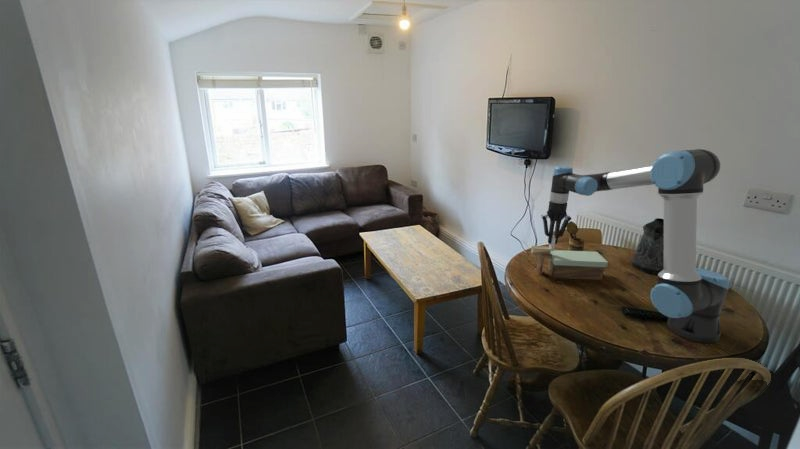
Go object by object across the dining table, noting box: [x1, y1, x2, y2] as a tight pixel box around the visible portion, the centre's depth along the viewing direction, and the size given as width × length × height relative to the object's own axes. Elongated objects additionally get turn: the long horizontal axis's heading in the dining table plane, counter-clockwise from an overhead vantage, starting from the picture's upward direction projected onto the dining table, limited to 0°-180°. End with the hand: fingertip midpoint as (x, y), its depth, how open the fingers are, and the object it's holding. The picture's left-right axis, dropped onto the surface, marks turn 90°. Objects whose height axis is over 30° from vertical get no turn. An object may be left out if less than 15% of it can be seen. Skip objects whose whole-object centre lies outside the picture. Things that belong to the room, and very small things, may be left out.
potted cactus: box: [566, 220, 585, 251], centre depth 194 cm, size 9×14×18 cm, turn 4°
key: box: [530, 245, 551, 255], centre depth 177 cm, size 3×8×3 cm, turn 85°
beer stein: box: [631, 217, 664, 275], centre depth 181 cm, size 16×19×25 cm
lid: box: [550, 249, 609, 268], centre depth 176 cm, size 12×23×2 cm, turn 85°
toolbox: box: [536, 254, 605, 281], centre depth 177 cm, size 10×28×10 cm, turn 85°
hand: (551, 250), depth 176 cm, fingers closed
